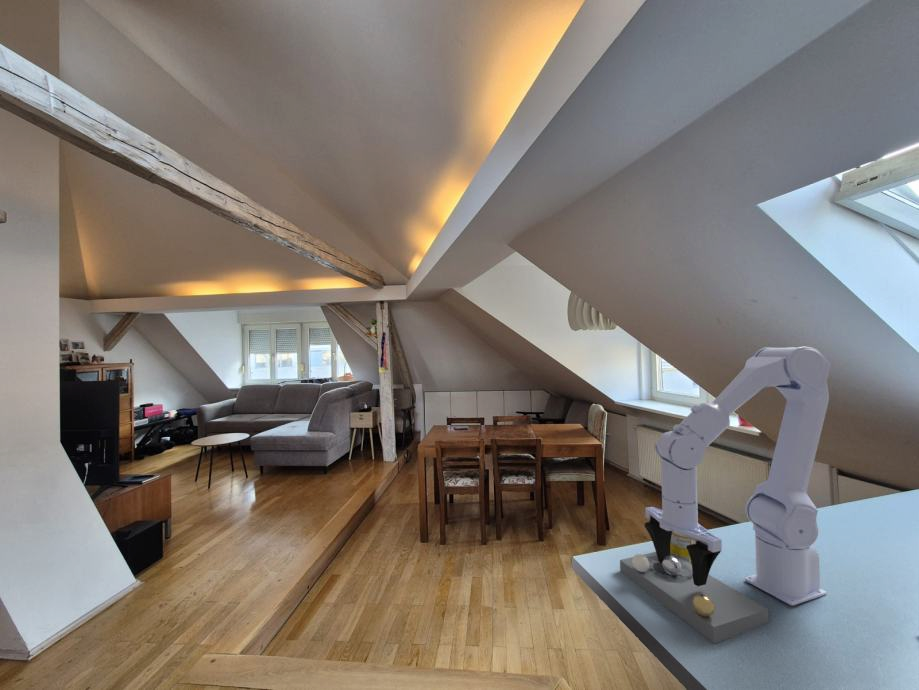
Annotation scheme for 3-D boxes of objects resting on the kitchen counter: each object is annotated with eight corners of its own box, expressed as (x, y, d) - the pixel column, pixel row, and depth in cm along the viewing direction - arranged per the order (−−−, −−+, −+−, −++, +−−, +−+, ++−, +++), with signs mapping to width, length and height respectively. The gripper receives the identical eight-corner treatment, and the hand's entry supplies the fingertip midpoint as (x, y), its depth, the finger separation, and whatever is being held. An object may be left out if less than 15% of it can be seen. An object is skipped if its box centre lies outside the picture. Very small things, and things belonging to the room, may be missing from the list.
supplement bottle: (681, 570, 77) (680, 523, 78) (663, 556, 83) (663, 512, 83) (705, 568, 78) (704, 521, 78) (686, 554, 83) (685, 510, 84)
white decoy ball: (641, 565, 75) (640, 549, 75) (653, 573, 72) (653, 557, 72) (628, 568, 74) (628, 552, 74) (640, 576, 71) (640, 560, 71)
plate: (666, 561, 81) (665, 549, 81) (768, 624, 62) (768, 609, 62) (620, 572, 77) (619, 559, 77) (714, 643, 58) (713, 627, 58)
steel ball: (668, 559, 75) (670, 549, 73) (683, 572, 72) (686, 562, 71) (657, 567, 74) (659, 557, 72) (672, 582, 71) (675, 572, 70)
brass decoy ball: (701, 606, 63) (701, 588, 63) (719, 618, 60) (719, 599, 60) (688, 611, 62) (687, 592, 62) (705, 623, 59) (704, 603, 59)
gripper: (632, 487, 76) (634, 556, 76) (698, 517, 63) (700, 600, 62) (660, 483, 79) (661, 550, 78) (729, 511, 65) (732, 591, 65)
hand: (681, 572), depth 70 cm, fingers open, 7 cm apart
